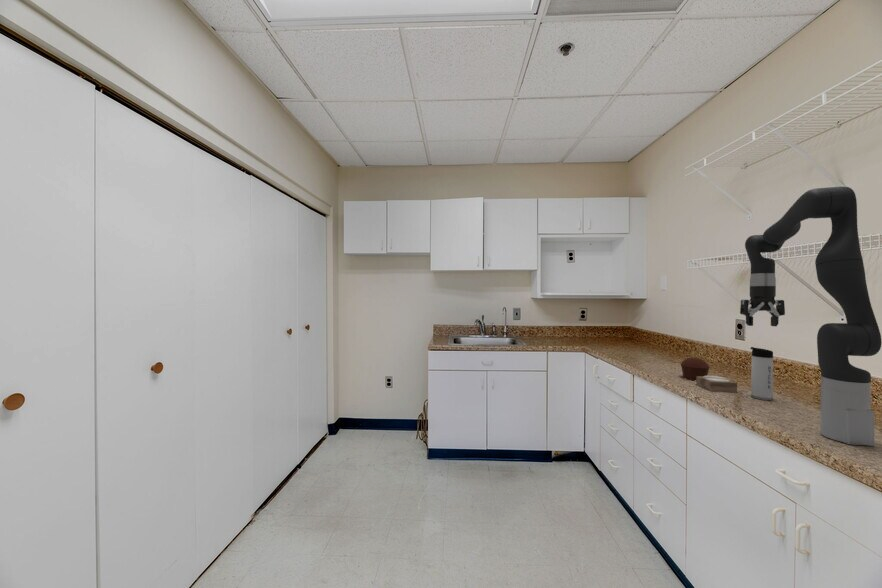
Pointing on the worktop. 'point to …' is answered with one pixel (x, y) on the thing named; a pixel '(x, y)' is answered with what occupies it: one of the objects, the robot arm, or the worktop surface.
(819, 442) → the worktop surface
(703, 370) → the muffin
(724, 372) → the worktop surface
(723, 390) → the walnut stand
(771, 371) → the travel mug
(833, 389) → the robot arm
